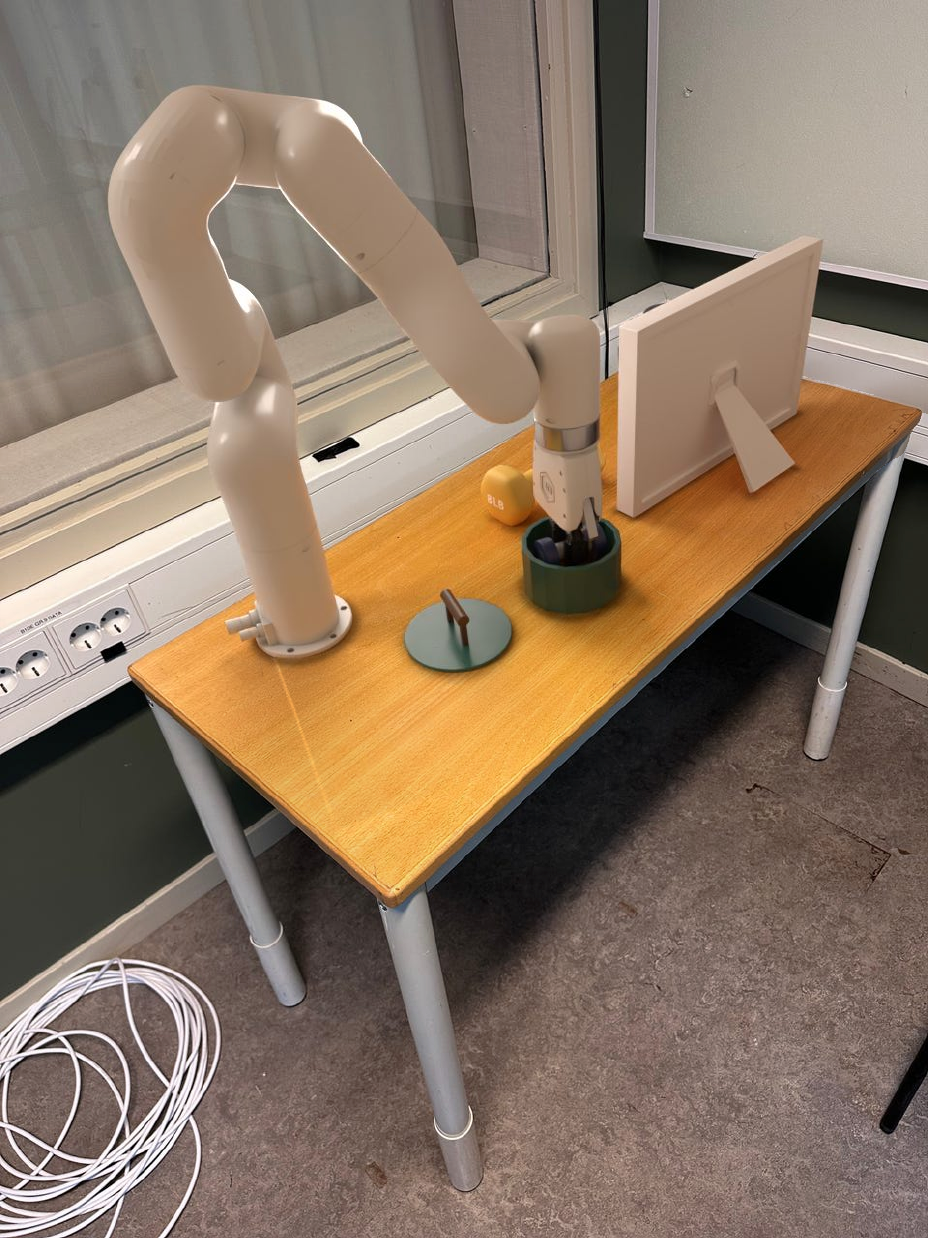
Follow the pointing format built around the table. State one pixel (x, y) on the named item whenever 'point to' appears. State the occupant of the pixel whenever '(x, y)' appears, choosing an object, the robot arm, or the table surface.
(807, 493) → the table surface
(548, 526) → the pot
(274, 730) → the table surface
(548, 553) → the toy dumbbell
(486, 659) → the lid
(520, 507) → the dumbbell
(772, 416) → the picture frame
